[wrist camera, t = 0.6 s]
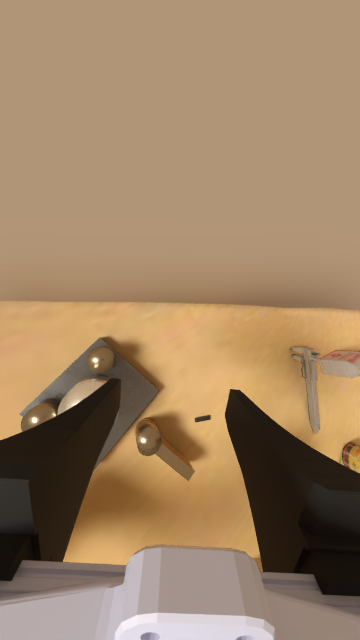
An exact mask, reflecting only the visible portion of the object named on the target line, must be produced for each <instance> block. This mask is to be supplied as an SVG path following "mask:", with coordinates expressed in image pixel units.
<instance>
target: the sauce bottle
mask: <svg viewBox="0 0 360 640" xmlns="http://www.w3.org/2000/svg"><path fill="white" fill-rule="evenodd" d="M343 462H344V464H345V466H346V467H347V468H350V469H352V470H354V471H356V472H358V473H360V446H359V445H356V444H354V443H349V444H348V445H346V446H345V447H344V449H343Z"/></svg>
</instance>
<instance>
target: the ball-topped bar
mask: <svg viewBox="0 0 360 640" xmlns="http://www.w3.org/2000/svg"><path fill="white" fill-rule="evenodd" d="M135 436H136V441H137V446H138V450H139V452H140V453H141V454H142V455H145V456H151V455H153V454H156V455H157V456H158V457H160V458H161V459H162V460H163V461H164V462H166V463H167V464H168V465H169V466H171V467H172V468H173V469H174V470H175V471H177V472H178V473H179V474H180V475H181V476H183V477H184V478H185V479H186V480H188V481H189V479H190V478H191V476H192V475H193V473H194V472H195V471H194V469H193V467H192V466H191V464H190V462H189V461H188V459H186V458H185V457H184V456H183V455H182V454H181V453H179V452H178V451H177V450H176V449H175V448H173V447H172V446H171V445H170V444H169V443H168V442H166V441H165V440H164V439H163V438H162V436H161V434H160V432H159V430H158V427H157V425H156V423H155V422H154V421H153V420H152V419H143V420H141V421H140V422H139V423H138V424H137V426H136V429H135Z"/></svg>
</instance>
